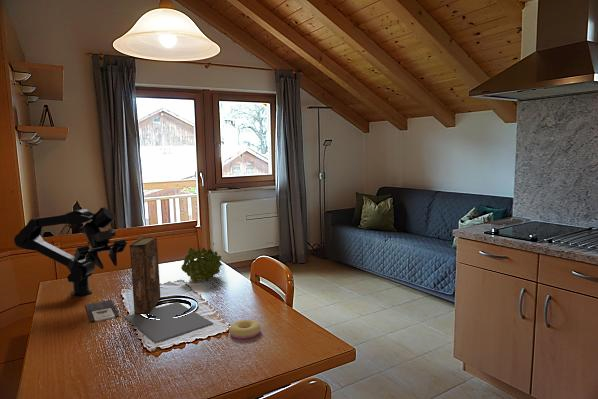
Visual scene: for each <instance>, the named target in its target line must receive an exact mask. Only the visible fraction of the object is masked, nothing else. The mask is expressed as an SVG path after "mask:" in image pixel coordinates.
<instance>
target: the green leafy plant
mask: <svg viewBox="0 0 598 399" xmlns="http://www.w3.org/2000/svg"><path fill="white" fill-rule="evenodd" d="M221 260H222V256H221V255H219V254H218V251H213V250H212V248H208V249H206V248H205V247H203V248H202V249H201V247H198V248H197V249H196V250H195V248H194V249H193V248H192V247H189V249H188V251H187V255H185V256H184V258H183V264H182V265H181V267H180V269H181V270H182V271H183V272H184V274H186V276H188V277H189V279H190V280H191V282H192V283H197V282H198V281H199V282H200V281H202V282H204V281H206V280H212V279H214V276H215V275H217V274H219V273H220V268H221V266H223V264H222V262H221Z"/></svg>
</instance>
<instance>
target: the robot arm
mask: <svg viewBox="0 0 598 399" xmlns="http://www.w3.org/2000/svg"><path fill="white" fill-rule="evenodd" d="M116 219H117V217H116V214H115V213H114V212H113V211H112V210H110V209H108V208H107V207H105V206H103V207H101V208H99V209H98V211H96V212H92V211H89V209H87V208H81V209H76V210H73V211H69V212H67V213H63V214H56V215H49V216H38V217H34V218H31V219H29V221H28V223H26V225H25V226H24V227H22V229H21V230H20V231H18V232H19V233H18V234H16V235H15V236H14V239H13V240H14V241H13V242H14V245H15V246H16V247H18V248H20V249H23V250H26V251H27V250H28V251H35V252H38V253H39V254H41V255H43V256H45V257H47V258H49V259H51V260H52V261H54V262H56V263H59V264H61V265H63V266H65V267H66V268H67V269H68V270H69V273H70V274H68V275H67V277H66V279H67V281H68V283H72V290H73V291H72V290H71V292H70V294H71V295H72V296H73V297H75V298H76V297H80V296H81V297H82V296H85V295H91V294H93V291H91V289H90V285H89V283H90V282H89V277H92V275H93V272H94V271H95V269H96V266H97V267H98V268H99V269H101V270H104V265H103V262H102V260H101V259H100V256H99V254H98V253H103V252H106V251H107V252H109V254H108V258H109V259H110V261H111V262H112V264H113V265H114V267H117V266H118V257H117V255H118V253H122V252H124V251H125V249H126V247H127V244H128V242H127V240H126V239H124V238H122V239H116V240H114V242H113V244H109V243H110V242H111V241H110V240H113V238H115V237H116V236H117V235H116V230H115V229H114V228H109V229H107V230H104V231H102V229H105V228H107V227H108V226H109V225H111V223H113V222H114V221H115V220H116ZM82 224H84V225H82ZM57 225H71V226H72V225H73V226H79V225H81V226H80V228H79V229H78V231H77V232H78V233H80V234H84V235H85V237H86V239H87V245H82V246H77V248H76V249H75V252H74V254H73V255H72V254H71V253H68V252H66V251H65V250H64V249H60V248H59V247H57V246H54V245H53V244H51V243H49V242H47V241H45V240H44V239H43V236H41V234H42V232H43V227H49V226H57ZM89 246H90V247H89Z"/></svg>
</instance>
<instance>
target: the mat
mask: <svg viewBox="0 0 598 399" xmlns="http://www.w3.org/2000/svg"><path fill="white" fill-rule="evenodd" d="M188 309H190V308H188V307H187V306H185V305H183V304H182V303H180V302H178V301H177V302H173V303H169V304H165V305H161V306H158V307H154V308H153V309H152V311H151V312H150V313H148V314H149V315H153V316H156V318H157V319H160V320H156V319H154V320H153V319H152V320H150V319H146V318H143V317H141V316H140V315H138V314H134V313H132V314H129V315H125V316H124V319H125V320H127V321H128V322H129V323H130V324H132V325H133V326H134V327H135V326H136V327H135V328H137V329H138V330H139V331H140V330H141V331H142V332H141V331H140V332H141V333H143V334H144V335H147V336H146V337H148V339H150V340H151V339H152V340H151V341H152V342H154V343H155V344H157V342H158V343H160V341H161V342H163V340H164V341H166V339H167V340H169V338H170V339H172V337H173V338H176V337H178V336H181V335H184V333H185V334H188V333H190V331H191V332H193V330H194V331H196V330H199V328H200V329H202V327H203V328H205V326H206V327H208V325H209V326H211V324H212V325H214V322H212V321H211V320H209V319H208V318H206V317H204V316H202V315H201V314H199V313H197V312H196V311H194V312H192V313H190V314H187V315H186V316H183V317H179V318H172V317H175V316H176V315H181V314H183V313H184V312H185V311H187V310H188ZM187 332H188V333H187Z"/></svg>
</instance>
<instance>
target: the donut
mask: <svg viewBox="0 0 598 399" xmlns="http://www.w3.org/2000/svg"><path fill="white" fill-rule="evenodd" d="M261 329H262V326H261V324H260V323H259V322H258V321H257V320H253V319H241V320H238V321H235V322H233V323H232V324H231V325H230V326H229V329H228V331H229V334H230V335H231V337H233V338H235V339H239V340H246V339H251V338H254V337H257V336H258V334H260V332H261Z"/></svg>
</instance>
